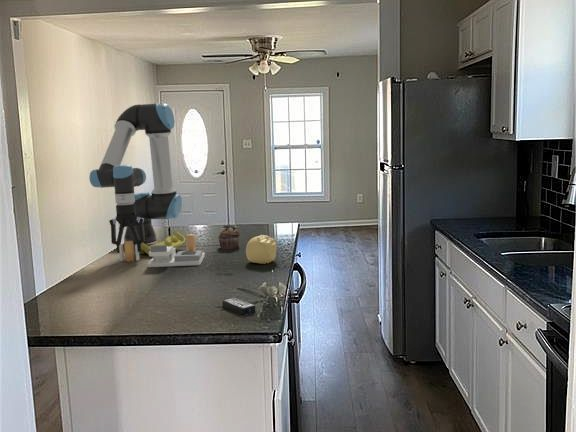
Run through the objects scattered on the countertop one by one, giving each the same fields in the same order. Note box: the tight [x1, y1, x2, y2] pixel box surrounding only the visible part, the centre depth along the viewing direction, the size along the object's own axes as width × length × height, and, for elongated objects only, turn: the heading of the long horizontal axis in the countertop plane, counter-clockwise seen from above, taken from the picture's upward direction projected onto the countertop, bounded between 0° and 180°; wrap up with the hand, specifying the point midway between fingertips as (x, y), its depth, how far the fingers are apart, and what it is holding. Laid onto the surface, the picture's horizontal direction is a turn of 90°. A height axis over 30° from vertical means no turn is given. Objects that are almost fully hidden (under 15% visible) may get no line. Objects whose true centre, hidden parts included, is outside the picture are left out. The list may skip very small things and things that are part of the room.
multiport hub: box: [222, 297, 256, 316], centre depth 158 cm, size 4×11×2 cm, turn 38°
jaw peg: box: [123, 241, 136, 263], centre depth 227 cm, size 4×4×8 cm
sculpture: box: [245, 234, 278, 265], centre depth 215 cm, size 12×12×11 cm
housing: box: [147, 233, 206, 268], centre depth 222 cm, size 16×20×10 cm
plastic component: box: [139, 231, 186, 258], centre depth 242 cm, size 20×7×10 cm
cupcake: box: [217, 224, 241, 250], centre depth 246 cm, size 10×10×10 cm
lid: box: [148, 244, 173, 257], centre depth 217 cm, size 10×7×4 cm
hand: (130, 260), depth 227 cm, fingers open, 6 cm apart
